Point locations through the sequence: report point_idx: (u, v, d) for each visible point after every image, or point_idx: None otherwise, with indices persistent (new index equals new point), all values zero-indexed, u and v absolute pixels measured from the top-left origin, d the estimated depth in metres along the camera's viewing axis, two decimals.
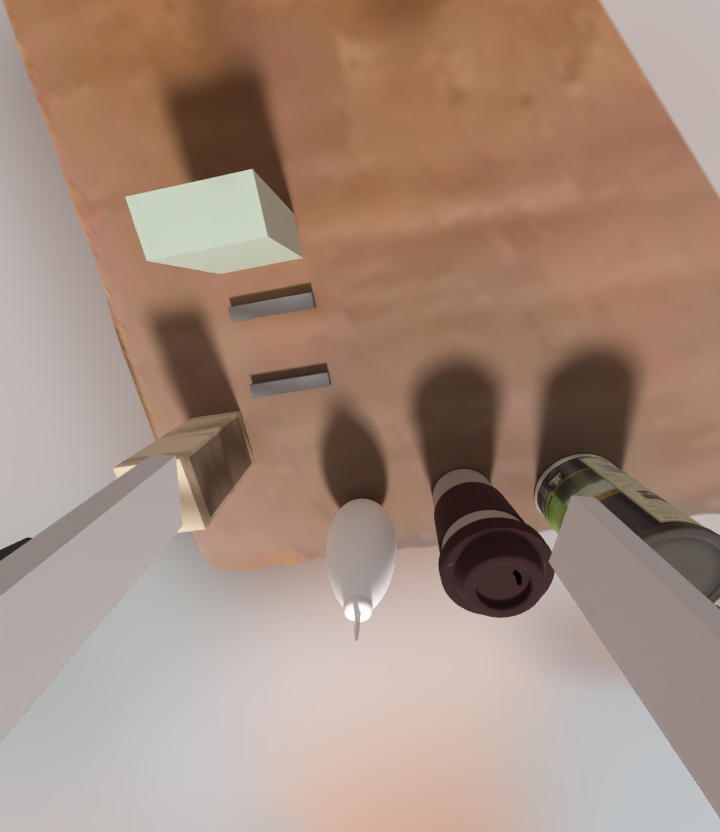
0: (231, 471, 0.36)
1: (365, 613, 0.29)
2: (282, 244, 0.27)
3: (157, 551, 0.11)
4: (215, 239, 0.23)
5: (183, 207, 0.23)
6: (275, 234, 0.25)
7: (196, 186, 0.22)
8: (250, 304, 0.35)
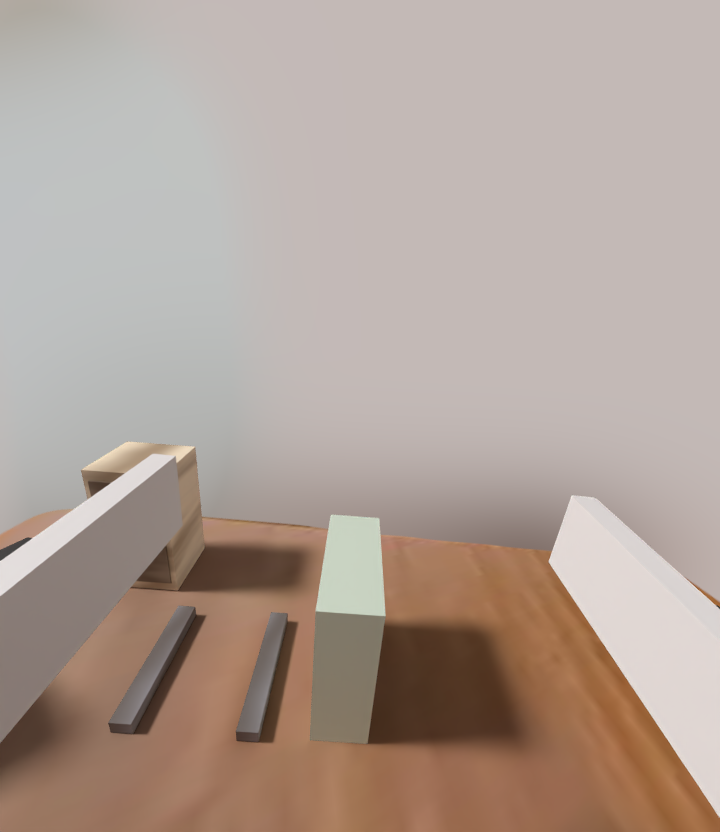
0: None
1: None
2: (314, 659, 0.21)
3: (157, 551, 0.11)
4: (329, 563, 0.23)
5: (363, 549, 0.24)
6: (323, 641, 0.20)
7: (377, 563, 0.23)
8: (280, 638, 0.29)
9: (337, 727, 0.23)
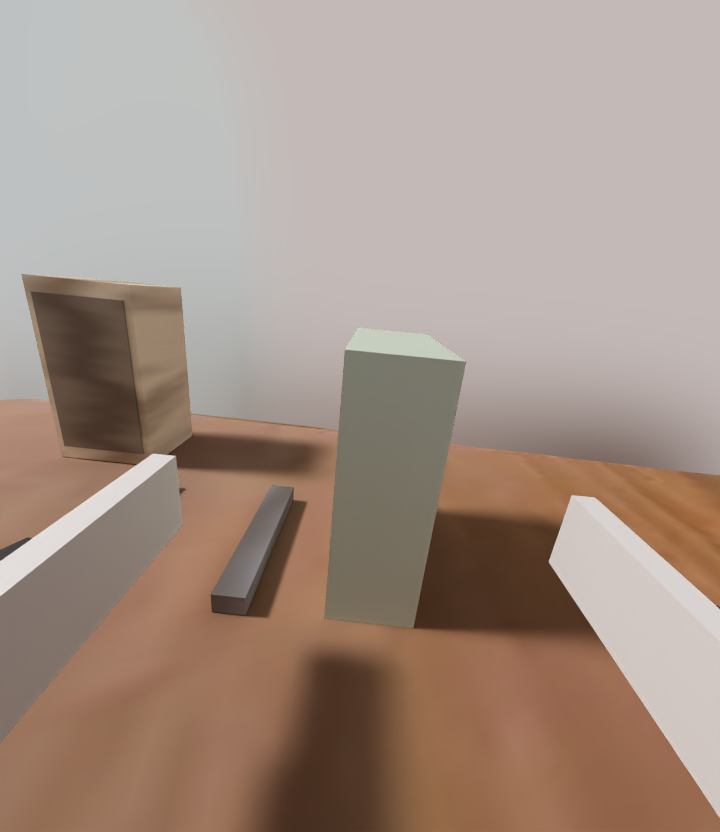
0: (71, 382, 0.24)
1: None
2: (338, 458, 0.12)
3: (157, 551, 0.11)
4: (362, 338, 0.15)
5: (411, 339, 0.16)
6: (354, 417, 0.12)
7: (436, 345, 0.15)
8: (282, 508, 0.21)
9: (368, 595, 0.14)
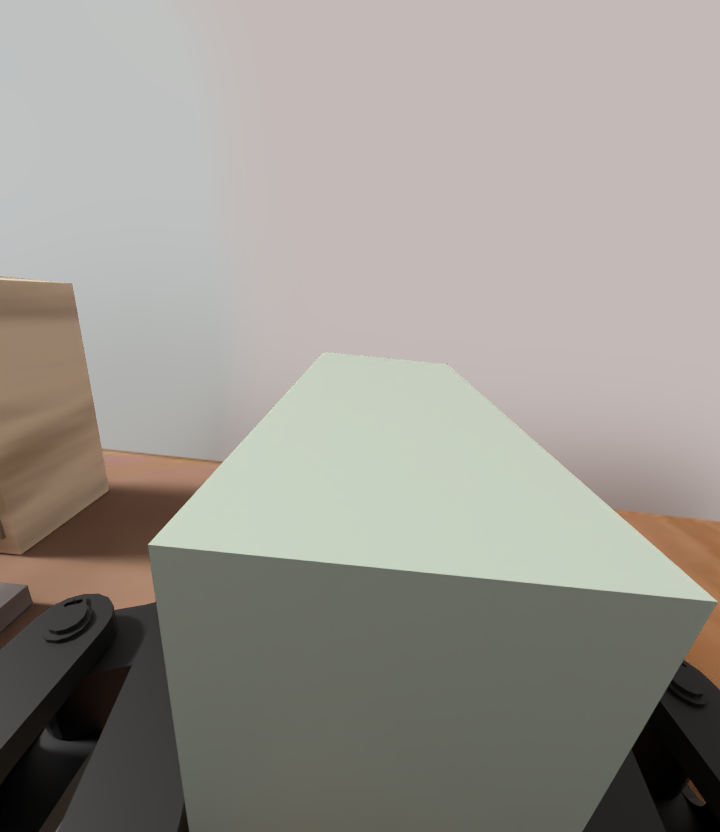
0: None
1: None
2: None
3: None
4: (307, 400, 0.06)
5: (423, 390, 0.07)
6: (232, 754, 0.03)
7: (489, 413, 0.06)
8: None
9: None
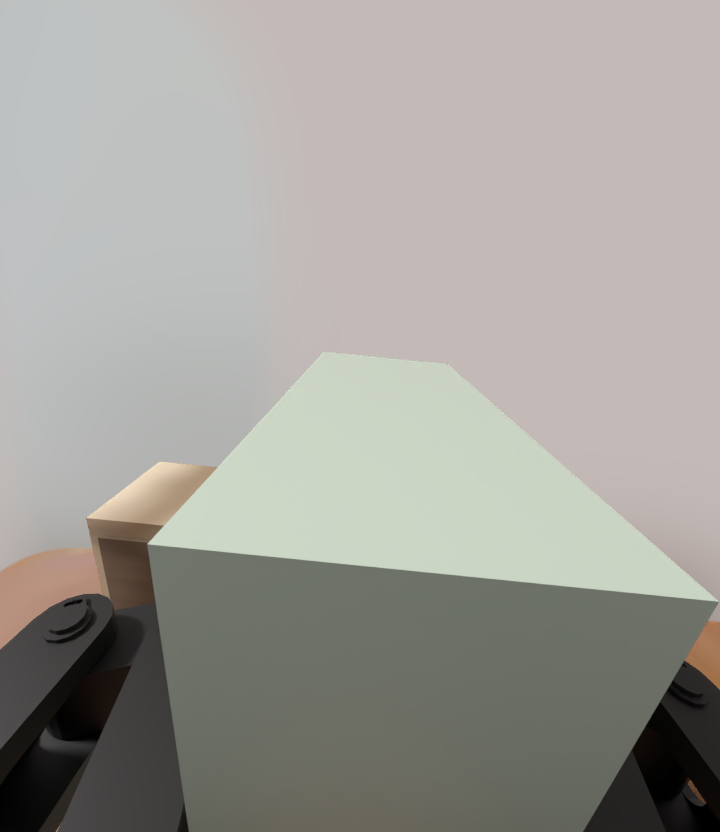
0: None
1: None
2: None
3: None
4: (307, 400, 0.06)
5: (423, 389, 0.07)
6: (232, 754, 0.03)
7: (489, 413, 0.06)
8: None
9: None
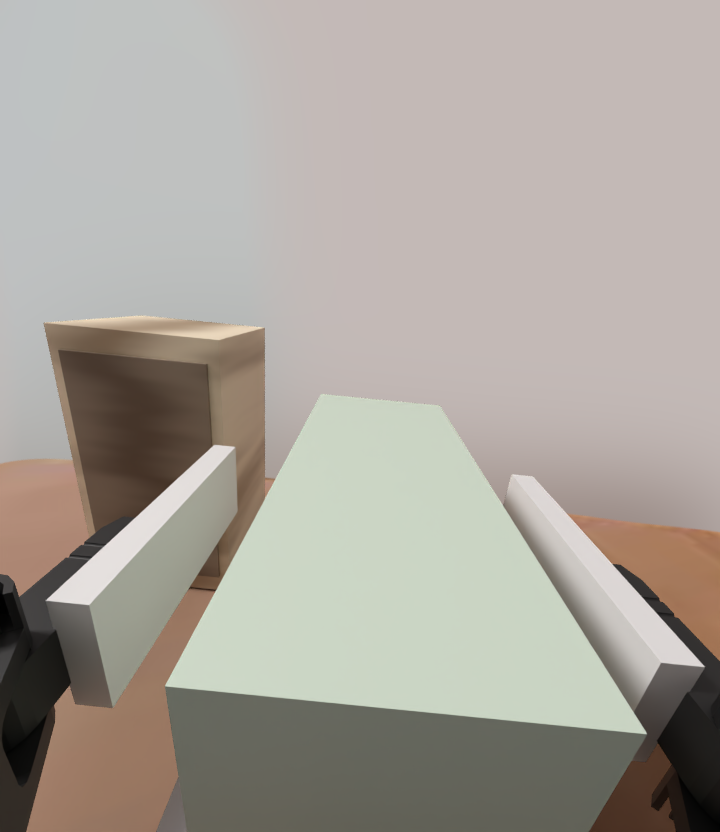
0: (118, 481, 0.15)
1: None
2: None
3: (220, 534, 0.12)
4: (304, 473, 0.06)
5: (414, 449, 0.08)
6: None
7: (474, 482, 0.07)
8: None
9: None
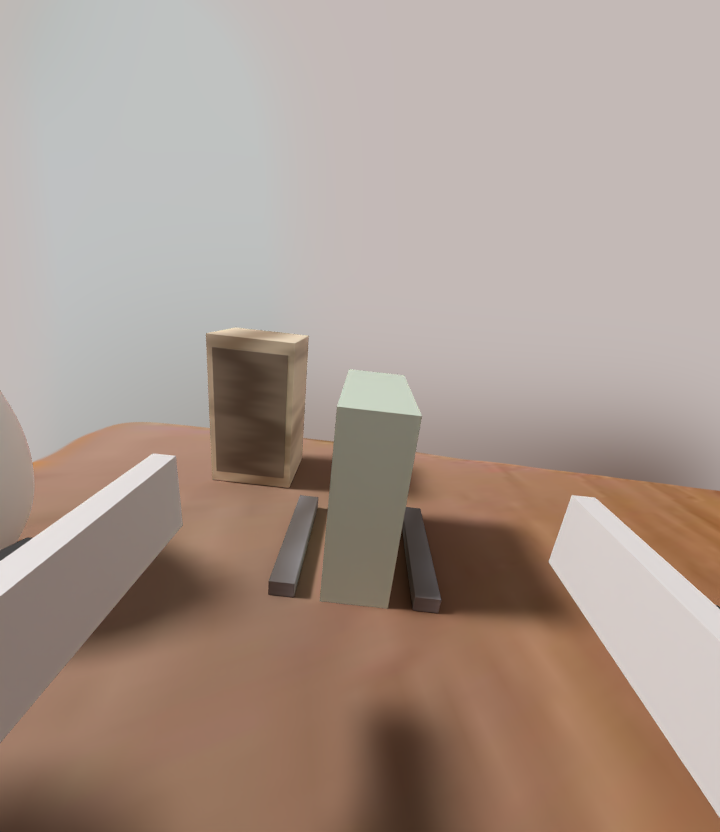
0: (233, 419, 0.28)
1: None
2: (332, 481, 0.17)
3: (157, 551, 0.11)
4: (351, 388, 0.19)
5: (388, 385, 0.21)
6: (343, 452, 0.16)
7: (407, 393, 0.19)
8: (423, 527, 0.26)
9: (353, 583, 0.19)
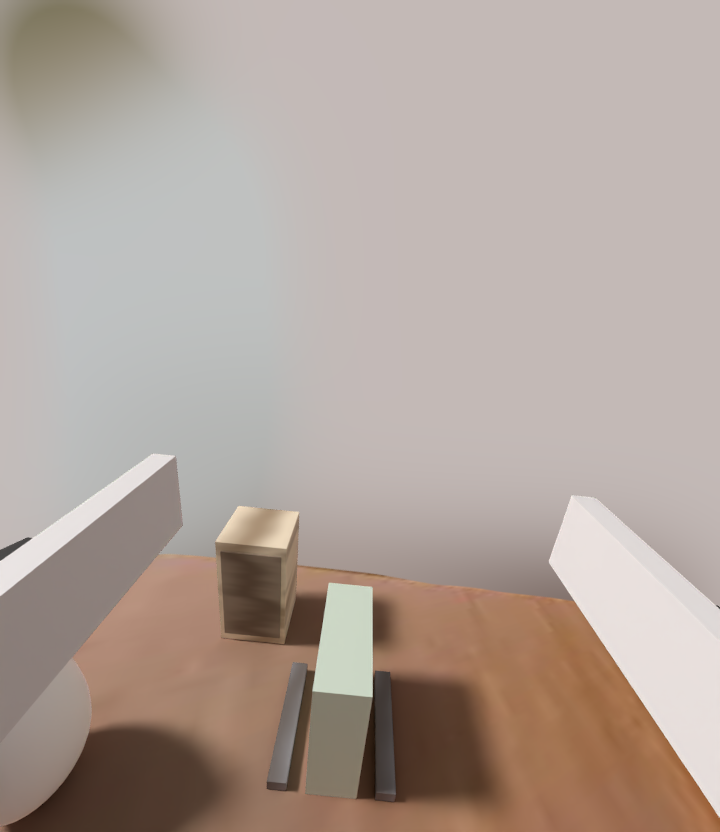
0: (237, 598, 0.35)
1: None
2: (311, 729, 0.24)
3: (157, 551, 0.11)
4: (326, 638, 0.26)
5: (356, 623, 0.27)
6: (318, 714, 0.23)
7: (368, 639, 0.26)
8: (390, 698, 0.32)
9: (329, 784, 0.26)
